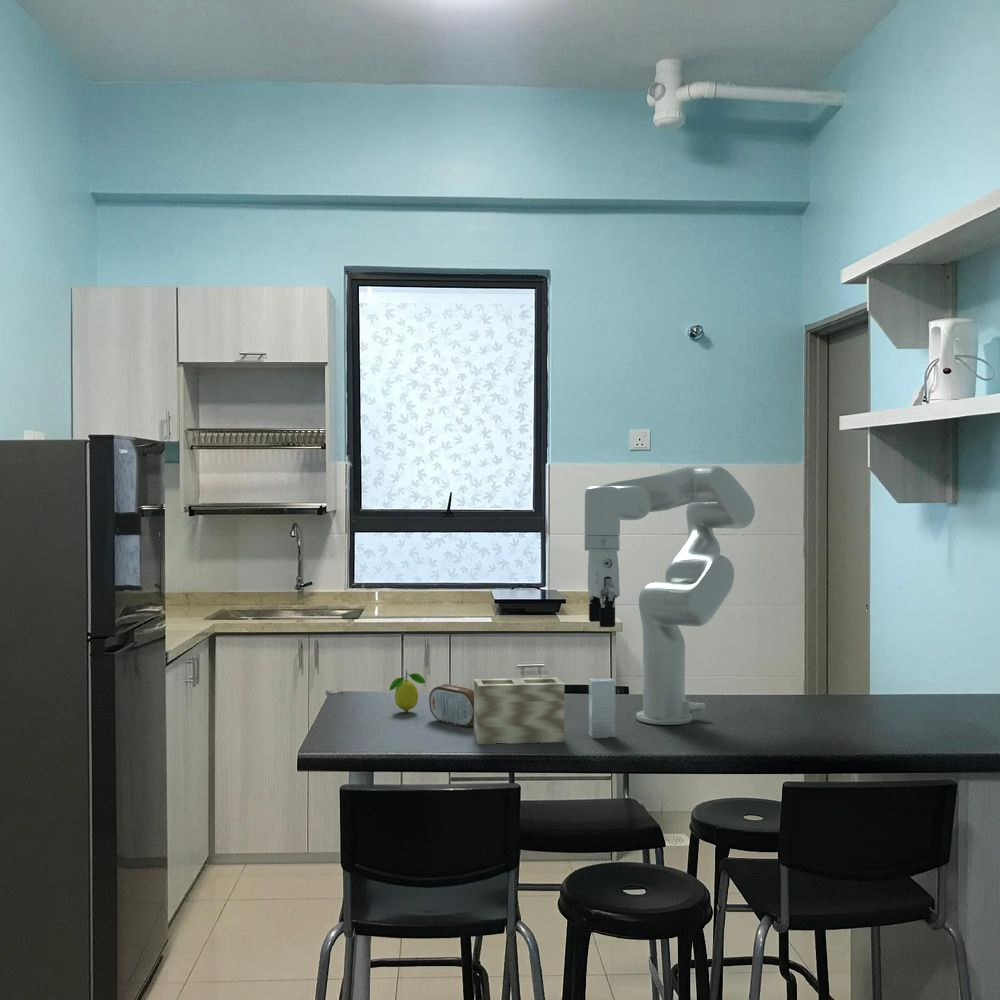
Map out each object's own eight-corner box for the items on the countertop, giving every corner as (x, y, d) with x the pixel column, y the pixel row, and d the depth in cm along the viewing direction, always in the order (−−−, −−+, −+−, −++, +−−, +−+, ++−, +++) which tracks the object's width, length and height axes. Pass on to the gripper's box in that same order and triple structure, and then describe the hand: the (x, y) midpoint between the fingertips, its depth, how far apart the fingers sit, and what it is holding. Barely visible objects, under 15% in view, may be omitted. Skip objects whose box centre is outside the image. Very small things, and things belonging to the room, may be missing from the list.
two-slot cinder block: (556, 733, 216) (556, 677, 216) (564, 741, 208) (564, 684, 208) (473, 735, 214) (474, 679, 214) (478, 744, 206) (478, 685, 206)
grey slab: (611, 734, 215) (611, 678, 215) (615, 737, 212) (615, 680, 212) (588, 734, 215) (589, 678, 215) (592, 738, 212) (592, 681, 212)
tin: (483, 728, 221) (483, 690, 221) (473, 730, 219) (473, 691, 219) (436, 718, 231) (436, 681, 231) (426, 720, 229) (426, 683, 229)
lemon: (425, 711, 239) (425, 669, 239) (412, 715, 233) (412, 672, 233) (401, 708, 242) (402, 667, 242) (388, 713, 236) (388, 670, 237)
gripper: (630, 545, 206) (629, 629, 205) (609, 542, 223) (608, 619, 223) (594, 545, 205) (593, 629, 204) (576, 542, 222) (575, 619, 222)
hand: (601, 624), depth 213 cm, fingers open, 9 cm apart
